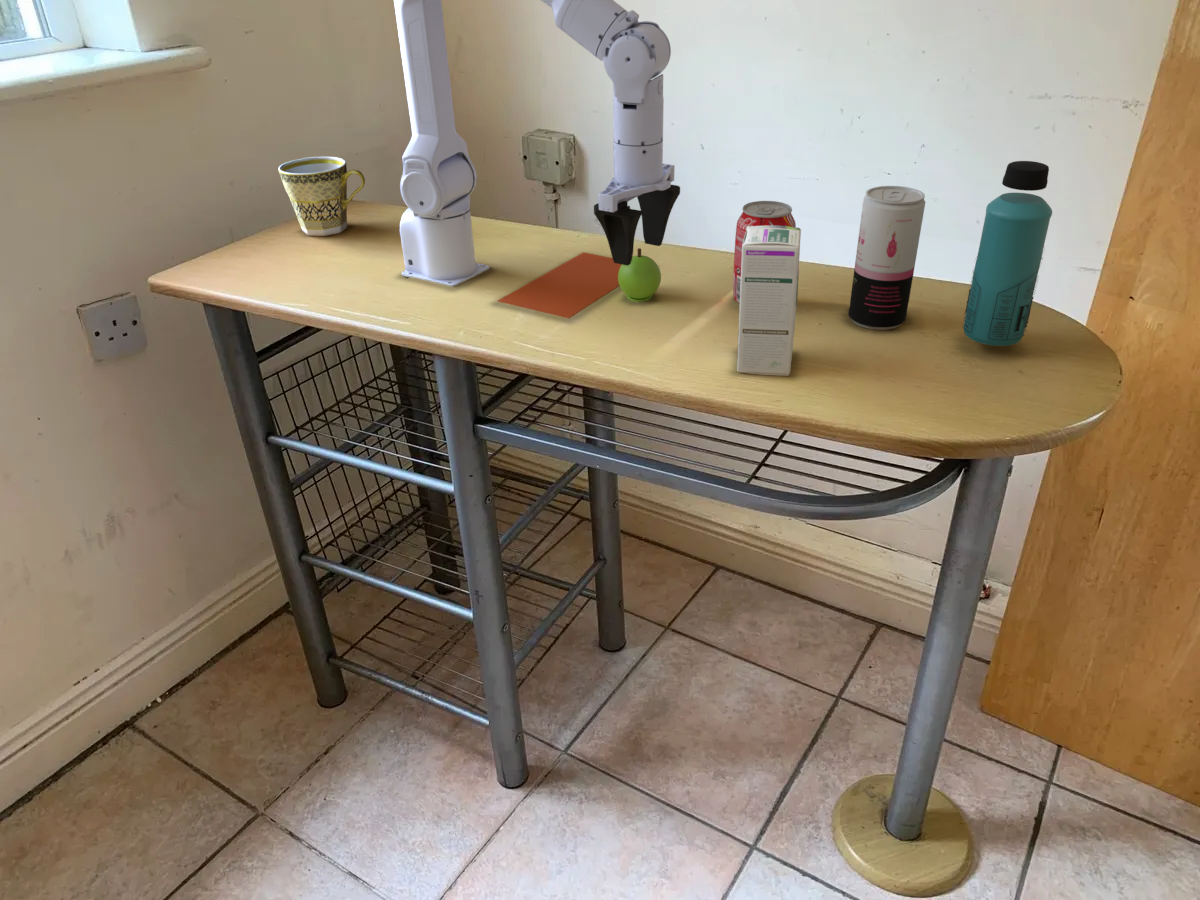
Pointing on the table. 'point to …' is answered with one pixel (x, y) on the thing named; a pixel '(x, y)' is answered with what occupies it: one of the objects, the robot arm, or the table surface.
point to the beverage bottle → (1009, 258)
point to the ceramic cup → (319, 193)
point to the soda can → (757, 216)
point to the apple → (639, 278)
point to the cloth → (568, 286)
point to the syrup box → (768, 299)
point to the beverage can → (886, 256)
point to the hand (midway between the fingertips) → (638, 253)
